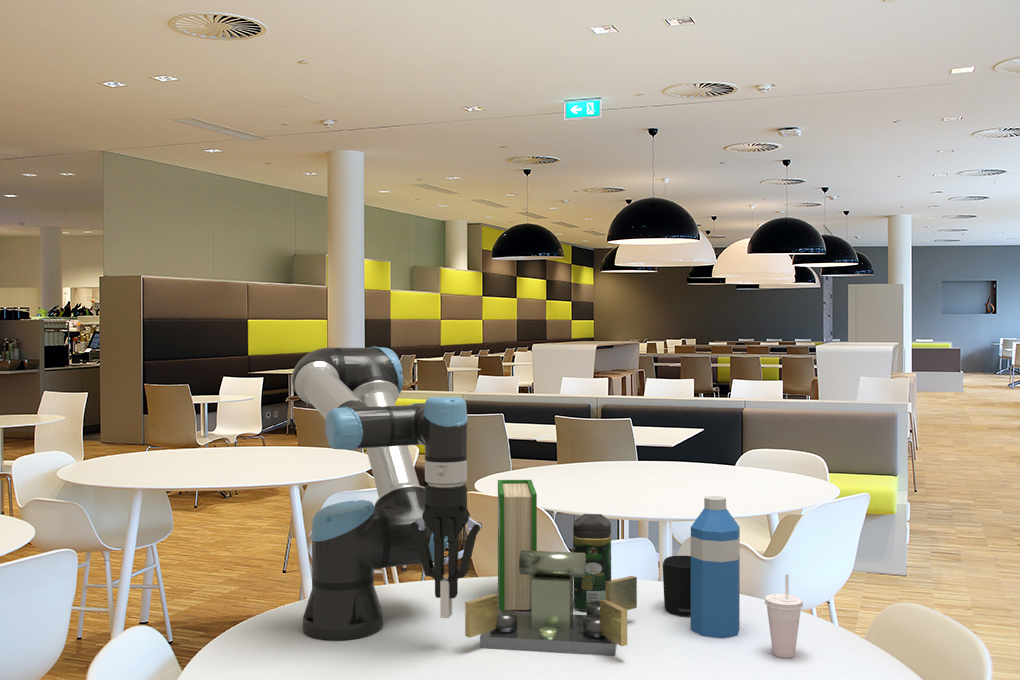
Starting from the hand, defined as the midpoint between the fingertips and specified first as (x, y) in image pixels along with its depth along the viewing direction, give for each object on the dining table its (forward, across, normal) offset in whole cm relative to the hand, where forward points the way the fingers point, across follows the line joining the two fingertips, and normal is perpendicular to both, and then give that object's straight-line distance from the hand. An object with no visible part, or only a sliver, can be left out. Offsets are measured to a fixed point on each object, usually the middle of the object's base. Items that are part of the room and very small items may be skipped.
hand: (446, 615), depth 156 cm
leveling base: (+6, +18, +9) cm, 21 cm away
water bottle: (+6, +48, +18) cm, 51 cm away
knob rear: (+3, +29, +16) cm, 33 cm away
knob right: (+4, +28, +3) cm, 29 cm away
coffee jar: (+6, +24, +29) cm, 38 cm away
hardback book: (+6, +8, +30) cm, 31 cm away
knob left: (+3, +8, +3) cm, 9 cm away
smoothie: (+6, +59, +7) cm, 60 cm away
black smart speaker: (+6, +43, +29) cm, 52 cm away
